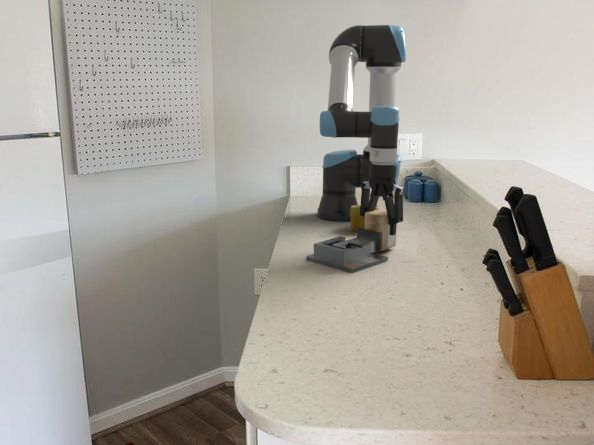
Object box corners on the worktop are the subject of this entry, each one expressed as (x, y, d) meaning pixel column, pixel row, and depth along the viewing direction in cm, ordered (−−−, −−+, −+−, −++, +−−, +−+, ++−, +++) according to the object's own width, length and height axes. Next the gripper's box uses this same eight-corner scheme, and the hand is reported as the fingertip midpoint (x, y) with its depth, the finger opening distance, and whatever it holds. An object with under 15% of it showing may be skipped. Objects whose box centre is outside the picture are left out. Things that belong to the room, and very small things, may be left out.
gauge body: (306, 259, 159) (306, 241, 158) (342, 248, 170) (342, 231, 169) (352, 273, 148) (352, 253, 147) (387, 260, 159) (388, 242, 158)
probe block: (363, 246, 169) (365, 212, 166) (378, 242, 174) (380, 208, 171) (380, 250, 165) (382, 216, 162) (395, 246, 169) (397, 212, 167)
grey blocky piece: (328, 254, 159) (328, 236, 158) (359, 245, 169) (359, 227, 167) (359, 263, 152) (360, 243, 151) (390, 253, 161) (390, 234, 160)
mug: (383, 230, 184) (375, 199, 184) (351, 238, 186) (343, 207, 187) (387, 228, 196) (379, 199, 196) (357, 235, 198) (350, 207, 199)
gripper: (347, 160, 167) (345, 239, 173) (404, 167, 154) (399, 252, 160) (364, 158, 173) (361, 234, 178) (419, 165, 160) (415, 247, 165)
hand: (379, 243), depth 169 cm, fingers closed on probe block, 6 cm apart
